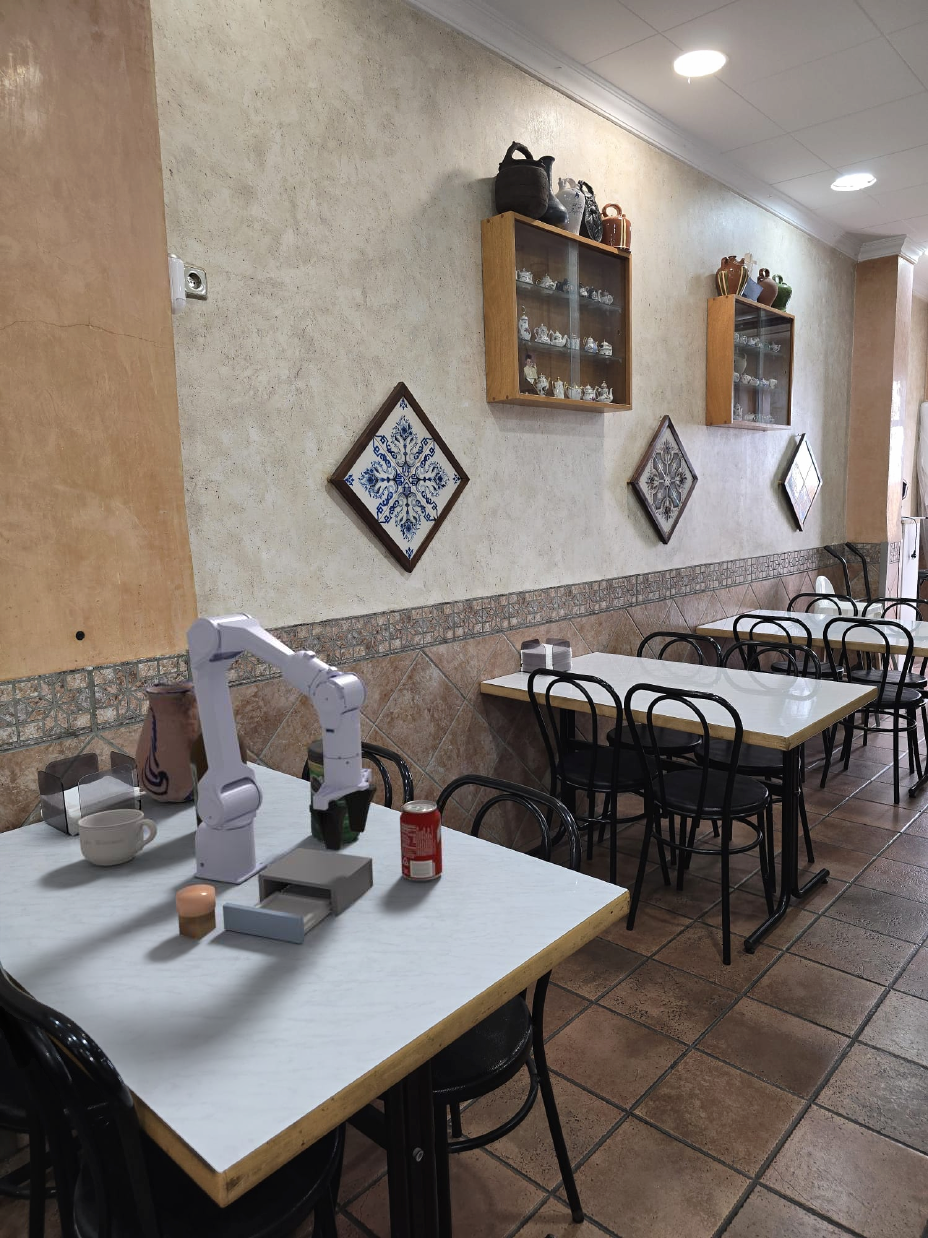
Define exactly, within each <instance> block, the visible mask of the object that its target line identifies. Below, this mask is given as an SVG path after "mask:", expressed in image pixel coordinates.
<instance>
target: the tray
mask: <svg viewBox="0 0 928 1238" xmlns="http://www.w3.org/2000/svg"><path fill="white" fill-rule="evenodd" d="M330 913H332V903H331V899H327V898H326V899H325V898H320V897H315V896H310V895H309V896H308V895H302V894H295V893H290V892H283V891H282V892H278V891H276V892H275V893H273V894H272V895H270V896H269V897H268V898H266V899H265V900H263V901H262V902H261V903H260V902H259V903H258V904H257V905H255V906H249V905H244V904H238V903H233V902H225V903H224V904H223V905H222V914H223V916H222V917H223V929H224V930H227V931H233V932H236V933H237V932H238V933H243V934H248V935H254V936H260V937H264V938H269V939H275V940H278V941H279V940H280V941H285V942H291V943H296V944H302V943H303V942H304V941H305V934H307V932H309V931H310V930H311V929H312V928H314V927H315V925H317V924H319V922H320V921H322V920H323V919H324V918H325V917H326V916H327V915H329V914H330Z"/></svg>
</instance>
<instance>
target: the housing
mask: <svg viewBox="0 0 928 1238" xmlns="http://www.w3.org/2000/svg"><path fill="white" fill-rule="evenodd" d="M373 873H374V872H373V858H372V857H366V856H360V855H359V856H358V855H352V854H345V853H338V852H330V851H325V850H316V849H309V848H303V847H297V848H296V849H294V850H293V851H292V852H290V853H288V854H286V855H285V856H284V857H282V858H281V859H279V860H277V861H276V862H274V863H273V864H271V865H270V866H268V867H267V868H265V869H264V870H262V871H260V872H259V873H258V874H257V876H258V879H257V880H258V894H259V895H258V896H259V897H258V898H259V899H258V900H259V903H261V902H262V901H263V900H265V899H266V898H268V897H269V896H270V895H272V894H273V893H275V892H276V891H278V892H283V891H284V890H286V889H287V888H289V887H290V886H291V885H293V884H295V885H302V886H305V887H306V886H307V887H313V888H319V889H326V890H330V896H331V897H330V900H331V903H332V911H331V915H332V916H334V917H335V916H336V917H338V916H340V914H342V913H343V912H345V910H346V909H347V908H349V907H350V906H351V905H352V904H353V903H355V902H356V901H357V900H358V899H360V898H361V896H363V895H364V894H365V893H366V892H368V891H369V890H370V889H371V888H372V887H373V886H374V876H373V875H374V874H373Z"/></svg>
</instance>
